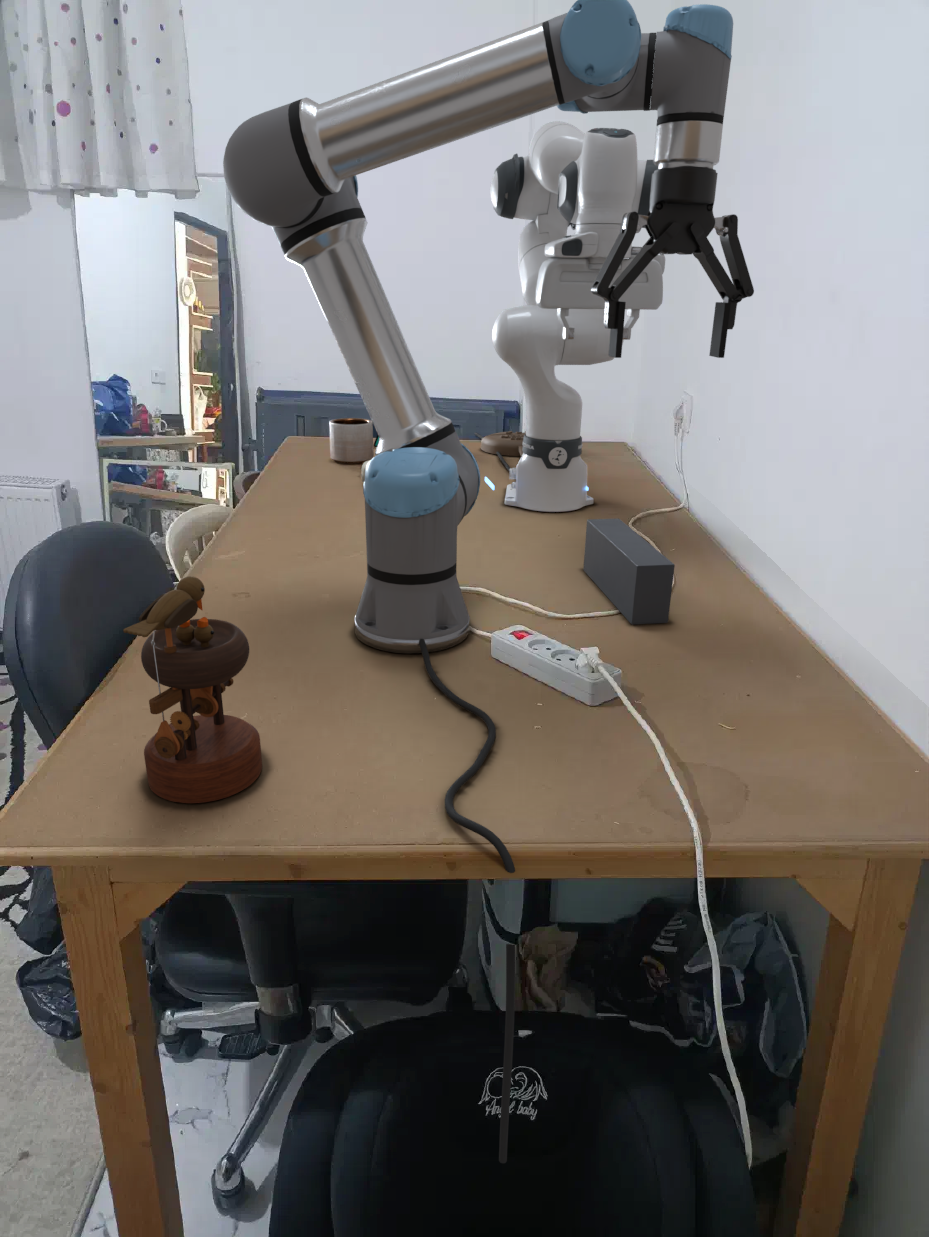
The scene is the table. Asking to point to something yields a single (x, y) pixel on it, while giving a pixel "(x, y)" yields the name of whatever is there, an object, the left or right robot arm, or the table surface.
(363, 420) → the planter
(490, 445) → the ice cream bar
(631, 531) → the bar
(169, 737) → the music box
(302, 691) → the table surface
